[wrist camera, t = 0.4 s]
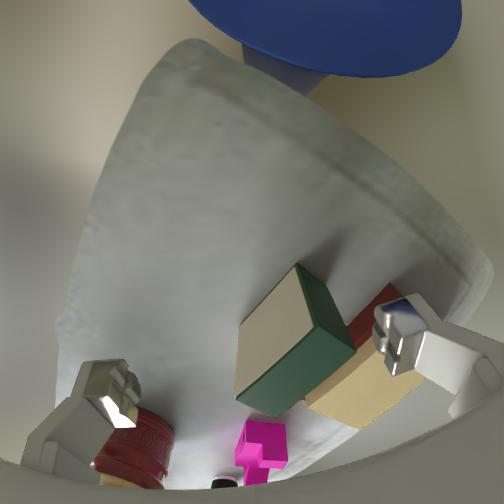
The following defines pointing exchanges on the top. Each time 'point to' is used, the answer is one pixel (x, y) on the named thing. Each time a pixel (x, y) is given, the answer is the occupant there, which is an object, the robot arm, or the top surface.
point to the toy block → (261, 450)
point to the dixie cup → (224, 482)
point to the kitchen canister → (136, 454)
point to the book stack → (363, 376)
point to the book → (290, 344)
